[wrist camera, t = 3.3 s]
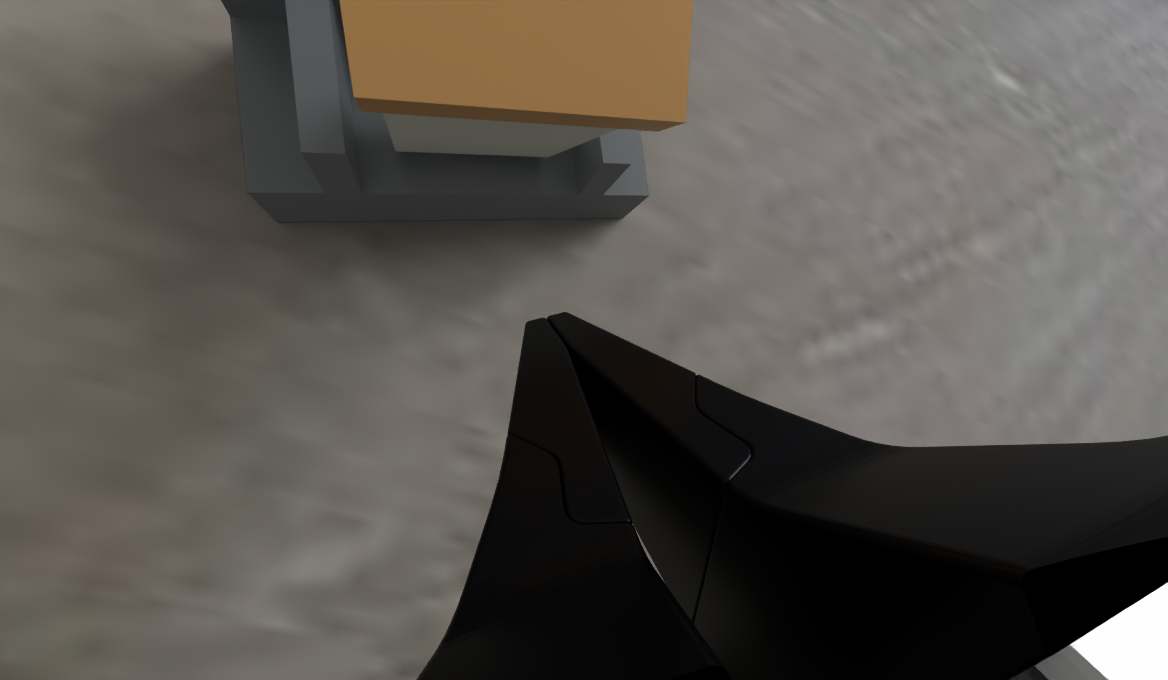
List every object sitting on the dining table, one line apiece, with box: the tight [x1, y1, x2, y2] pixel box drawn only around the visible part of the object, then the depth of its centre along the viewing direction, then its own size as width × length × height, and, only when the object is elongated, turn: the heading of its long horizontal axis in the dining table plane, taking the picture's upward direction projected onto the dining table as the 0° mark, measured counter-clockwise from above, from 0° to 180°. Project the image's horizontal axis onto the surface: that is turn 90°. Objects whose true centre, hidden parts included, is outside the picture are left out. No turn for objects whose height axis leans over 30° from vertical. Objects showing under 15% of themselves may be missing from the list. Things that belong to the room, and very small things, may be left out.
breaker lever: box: [340, 0, 693, 157], centre depth 12 cm, size 3×7×10 cm, turn 97°
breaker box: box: [221, 0, 649, 222], centre depth 17 cm, size 8×16×7 cm, turn 98°
